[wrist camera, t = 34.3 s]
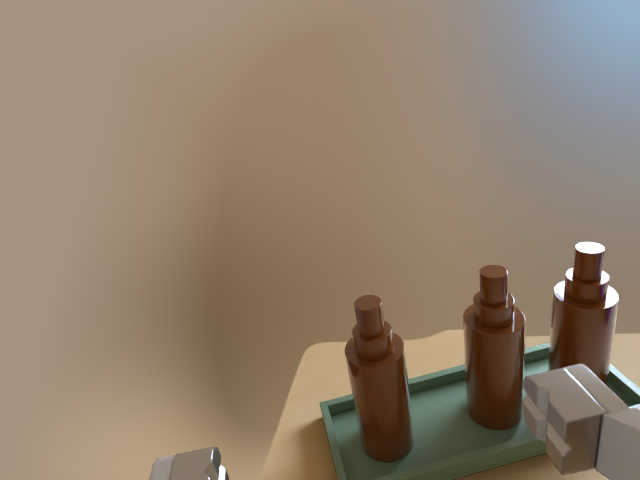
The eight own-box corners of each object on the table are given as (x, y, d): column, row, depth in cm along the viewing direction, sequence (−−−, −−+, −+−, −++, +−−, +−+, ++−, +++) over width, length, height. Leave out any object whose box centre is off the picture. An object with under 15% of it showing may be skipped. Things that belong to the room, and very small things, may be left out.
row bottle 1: (482, 436, 44) (480, 293, 37) (457, 397, 49) (451, 264, 42) (533, 422, 45) (540, 278, 38) (503, 385, 50) (505, 251, 43)
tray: (345, 511, 40) (342, 496, 40) (322, 416, 51) (319, 402, 50) (656, 421, 43) (660, 405, 43) (574, 348, 54) (575, 334, 53)
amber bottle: (369, 469, 43) (344, 327, 36) (355, 425, 48) (331, 294, 41) (422, 454, 44) (408, 311, 37) (403, 412, 49) (387, 280, 42)
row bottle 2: (569, 412, 45) (583, 267, 38) (536, 376, 50) (543, 242, 43) (618, 398, 46) (641, 253, 39) (581, 364, 51) (595, 230, 44)
